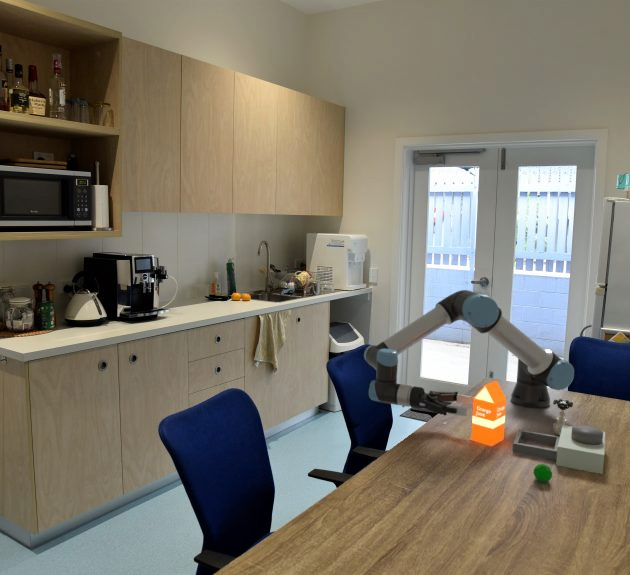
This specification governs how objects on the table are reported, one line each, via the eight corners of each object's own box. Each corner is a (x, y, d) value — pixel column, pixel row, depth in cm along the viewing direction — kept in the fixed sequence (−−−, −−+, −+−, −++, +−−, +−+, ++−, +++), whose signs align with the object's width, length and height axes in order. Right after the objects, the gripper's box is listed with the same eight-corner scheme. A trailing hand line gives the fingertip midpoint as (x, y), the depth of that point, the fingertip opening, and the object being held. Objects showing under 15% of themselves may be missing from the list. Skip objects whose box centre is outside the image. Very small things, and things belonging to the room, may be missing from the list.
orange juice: (503, 439, 204) (507, 382, 202) (491, 446, 198) (495, 387, 196) (482, 433, 210) (486, 377, 207) (470, 439, 203) (474, 382, 201)
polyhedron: (537, 475, 176) (539, 460, 176) (554, 481, 173) (555, 465, 172) (530, 480, 173) (531, 464, 172) (546, 486, 169) (547, 470, 169)
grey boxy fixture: (520, 434, 210) (521, 409, 209) (603, 449, 198) (605, 423, 197) (510, 456, 190) (512, 429, 189) (602, 474, 179) (605, 445, 177)
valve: (567, 432, 213) (570, 399, 212) (573, 439, 207) (576, 405, 205) (548, 431, 214) (550, 398, 212) (553, 437, 207) (556, 404, 206)
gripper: (421, 397, 226) (478, 406, 216) (400, 416, 203) (462, 428, 194) (422, 378, 225) (479, 386, 215) (401, 395, 202) (464, 405, 193)
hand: (471, 406), depth 205 cm, fingers open, 13 cm apart
